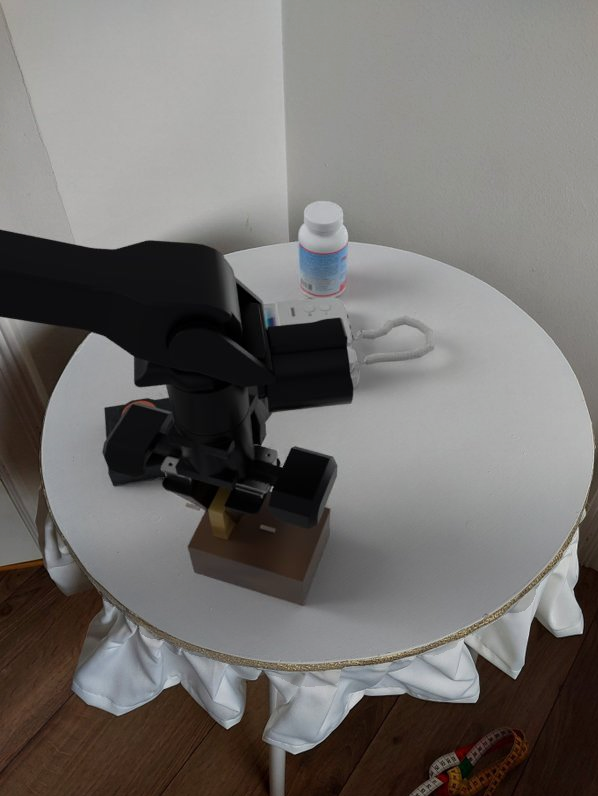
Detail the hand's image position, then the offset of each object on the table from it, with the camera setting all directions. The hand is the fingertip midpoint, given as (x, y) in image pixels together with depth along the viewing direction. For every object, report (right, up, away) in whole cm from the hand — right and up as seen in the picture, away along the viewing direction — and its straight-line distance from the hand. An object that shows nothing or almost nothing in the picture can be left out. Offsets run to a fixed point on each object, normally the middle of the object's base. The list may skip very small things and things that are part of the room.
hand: (229, 516), depth 67 cm
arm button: (-10, +9, +8) cm, 16 cm away
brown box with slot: (+3, -4, +4) cm, 6 cm away
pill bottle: (+8, +27, +28) cm, 40 cm away
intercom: (+9, +18, +21) cm, 29 cm away
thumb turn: (0, 0, 0) cm, 0 cm away
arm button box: (-8, +7, +12) cm, 16 cm away
